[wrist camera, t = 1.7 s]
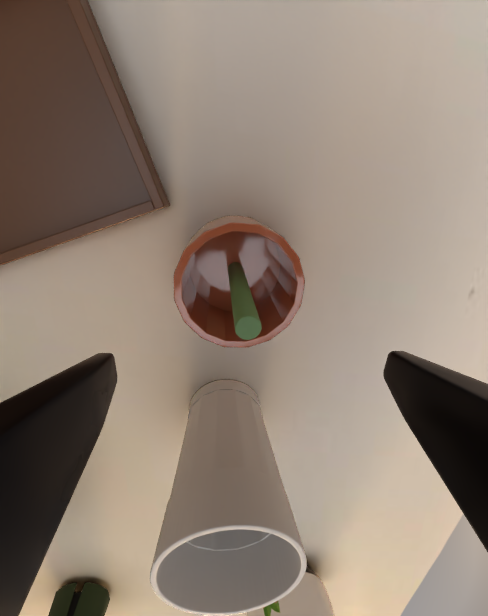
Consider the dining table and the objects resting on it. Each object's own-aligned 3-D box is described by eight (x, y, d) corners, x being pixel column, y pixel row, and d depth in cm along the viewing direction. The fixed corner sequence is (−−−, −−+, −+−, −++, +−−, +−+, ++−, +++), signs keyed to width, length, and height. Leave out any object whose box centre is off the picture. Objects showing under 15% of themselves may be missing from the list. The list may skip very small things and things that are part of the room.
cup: (195, 361, 23) (174, 514, 12) (282, 384, 25) (333, 538, 14) (169, 431, 26) (133, 610, 15) (249, 448, 28) (271, 620, 16)
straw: (230, 278, 20) (239, 344, 12) (225, 264, 20) (230, 321, 11) (244, 274, 20) (265, 335, 12) (240, 259, 20) (257, 312, 11)
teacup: (206, 325, 22) (202, 362, 17) (167, 235, 19) (151, 249, 14) (294, 296, 22) (316, 325, 17) (268, 200, 19) (285, 203, 14)
